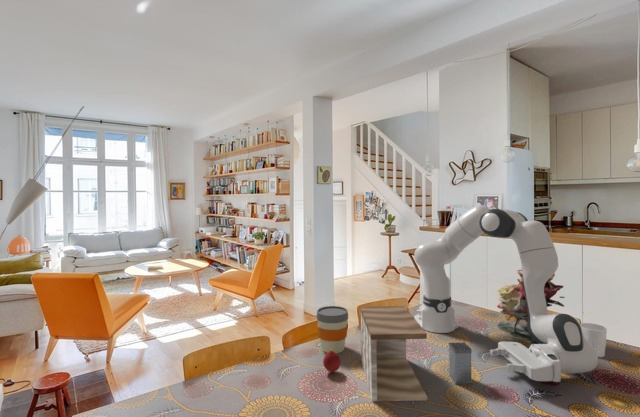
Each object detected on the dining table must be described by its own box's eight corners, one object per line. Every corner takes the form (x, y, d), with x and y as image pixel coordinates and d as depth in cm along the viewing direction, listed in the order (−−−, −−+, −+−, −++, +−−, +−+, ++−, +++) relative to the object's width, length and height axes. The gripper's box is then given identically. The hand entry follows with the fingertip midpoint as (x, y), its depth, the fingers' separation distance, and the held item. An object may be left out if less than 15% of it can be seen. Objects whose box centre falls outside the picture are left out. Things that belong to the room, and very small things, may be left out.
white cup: (611, 359, 123) (611, 331, 122) (586, 357, 124) (586, 330, 124) (598, 349, 130) (598, 323, 130) (575, 348, 132) (575, 322, 132)
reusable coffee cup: (326, 358, 127) (325, 318, 127) (311, 346, 138) (310, 308, 138) (355, 351, 133) (354, 312, 132) (338, 339, 144) (337, 304, 144)
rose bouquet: (545, 321, 160) (544, 257, 160) (584, 348, 131) (584, 270, 131) (487, 320, 164) (486, 257, 163) (513, 346, 135) (512, 270, 134)
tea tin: (449, 375, 113) (448, 342, 113) (464, 375, 113) (464, 342, 113) (455, 384, 108) (455, 349, 108) (471, 384, 108) (471, 349, 108)
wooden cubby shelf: (361, 359, 125) (360, 306, 125) (405, 359, 125) (404, 305, 125) (371, 401, 99) (370, 334, 99) (427, 400, 99) (426, 333, 99)
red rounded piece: (342, 369, 118) (342, 346, 118) (337, 378, 113) (337, 354, 113) (326, 367, 120) (326, 344, 120) (321, 375, 115) (320, 351, 115)
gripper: (522, 336, 120) (483, 337, 120) (563, 363, 100) (516, 364, 100) (522, 354, 121) (483, 354, 121) (564, 385, 100) (516, 386, 100)
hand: (498, 359), depth 110 cm, fingers open, 8 cm apart
